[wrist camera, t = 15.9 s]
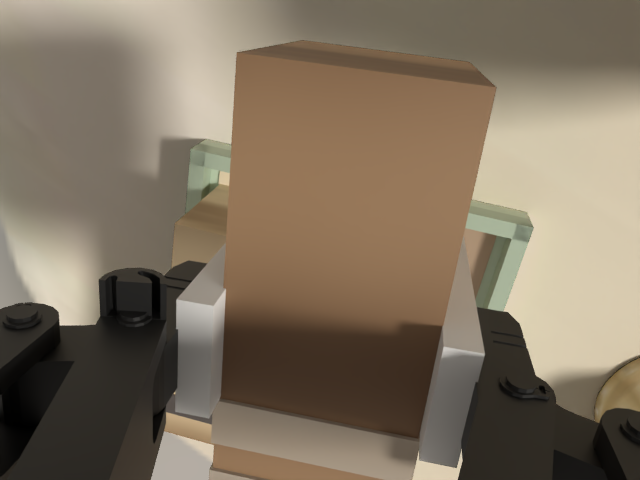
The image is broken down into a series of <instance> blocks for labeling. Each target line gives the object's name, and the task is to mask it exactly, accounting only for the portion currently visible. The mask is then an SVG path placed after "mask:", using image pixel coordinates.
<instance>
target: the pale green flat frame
mask: <svg viewBox="0 0 640 480" xmlns="http://www.w3.org/2000/svg"><path fill="white" fill-rule="evenodd" d="M230 162H231V145H230V144H225V143H221V142H216V141H212V140H208V139H206V140H204V141H202V142H201V143H199V144H198V145H196V146H194V147H193V148H191V151H190V163H189V174H188V185H187V197H186V208H185V214H186V213H187V212H189V211H190V210H191V209H192V208H193V207H194V206H195V205H197V204H198V203H199V202H200V201H201V200H202V199H203V198H205V197H206V196H207V195H208V194H209V193H210V192H211V191H213V190H214V189H215V188H216V187H217V186H218V185H219V184H223V185H227V186H229V179H230ZM532 231H533V225H532V223H531V221H530V218H529V216H528V214H527V212H523V211H519V210H514V209H510V208H505V207H501V206H497V205H492V204H488V203H484V202H479V201H475V200H471V204H470V209H469V213H468V218H467V222H466V227H465V231H464V240H465V246H466V251H467V257H468V262H469V268H470V273H471V279H472V285H473V290H474V296H475V301H476V307H479V308H485V309H491V310H497V311H504V308H505V306H506V303H507V300H508V297H509V294H510V292H511V289H512V286H513V283H514V281H515V278H516V275H517V272H518V270H519V267H520V264H521V261H522V259H523V256H524V253H525V250H526V248H527V245H528V242H529V239H530V237H531V234H532Z"/></svg>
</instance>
